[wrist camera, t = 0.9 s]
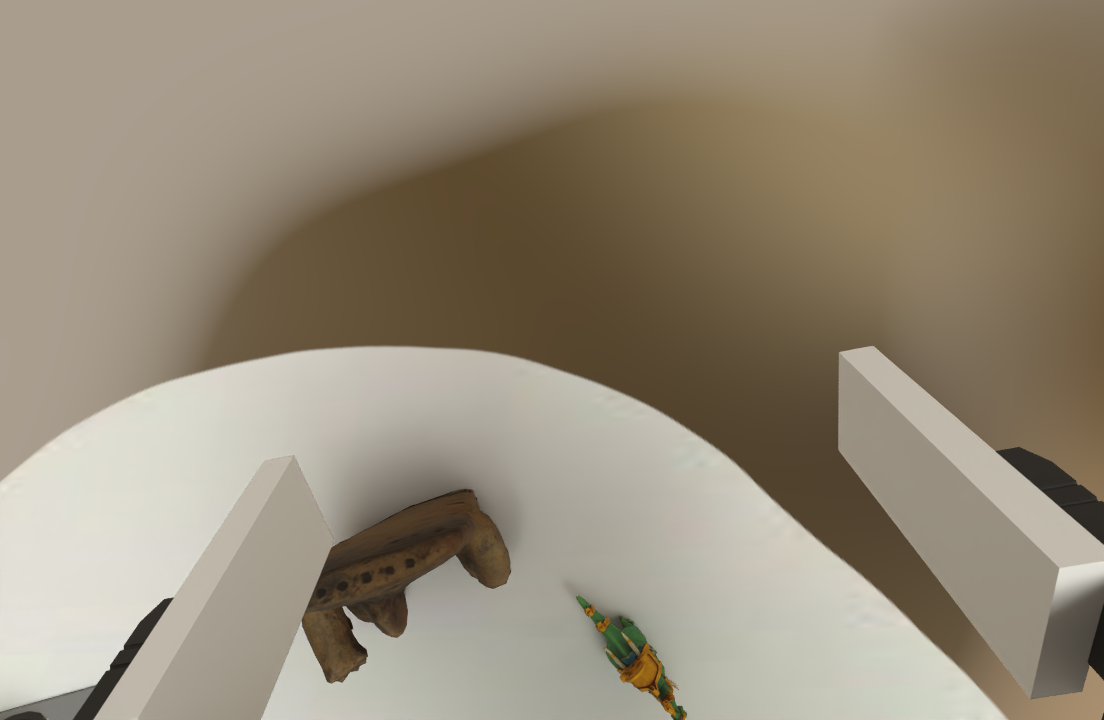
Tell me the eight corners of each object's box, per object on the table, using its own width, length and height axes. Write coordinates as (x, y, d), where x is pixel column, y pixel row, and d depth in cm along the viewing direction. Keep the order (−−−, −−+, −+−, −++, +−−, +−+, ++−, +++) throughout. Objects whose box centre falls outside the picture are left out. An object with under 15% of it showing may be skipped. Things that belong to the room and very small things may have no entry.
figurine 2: (655, 701, 49) (681, 765, 41) (557, 588, 49) (563, 629, 41) (684, 675, 49) (716, 733, 41) (586, 562, 49) (598, 598, 41)
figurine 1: (371, 632, 48) (256, 782, 28) (332, 542, 49) (191, 625, 29) (526, 556, 49) (521, 648, 29) (486, 468, 50) (453, 499, 30)
